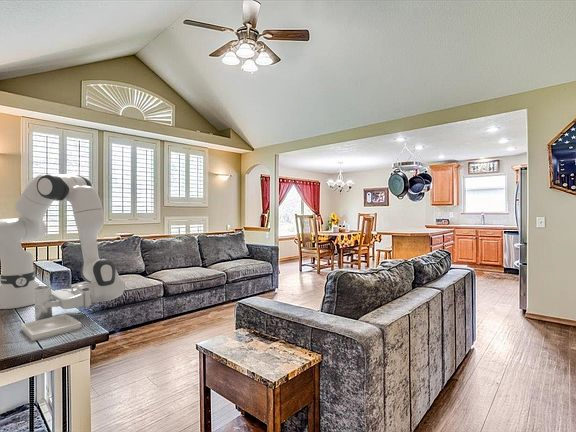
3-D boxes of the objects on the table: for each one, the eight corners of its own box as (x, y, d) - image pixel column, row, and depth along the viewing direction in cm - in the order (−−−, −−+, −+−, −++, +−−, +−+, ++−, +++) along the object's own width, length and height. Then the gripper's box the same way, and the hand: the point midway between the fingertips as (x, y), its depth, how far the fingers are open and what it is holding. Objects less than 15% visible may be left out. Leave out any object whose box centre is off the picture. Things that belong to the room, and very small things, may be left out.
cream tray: (21, 329, 116) (21, 324, 116) (67, 318, 127) (67, 313, 126) (32, 341, 106) (32, 335, 105) (81, 328, 116) (81, 322, 116)
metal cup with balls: (33, 321, 124) (32, 285, 123) (50, 317, 128) (48, 283, 127) (37, 324, 121) (35, 287, 120) (54, 320, 125) (52, 285, 124)
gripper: (73, 283, 141) (33, 290, 130) (90, 291, 127) (48, 299, 117) (74, 298, 141) (34, 306, 130) (91, 307, 128) (48, 316, 117)
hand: (41, 303), depth 124 cm, fingers open, 8 cm apart
